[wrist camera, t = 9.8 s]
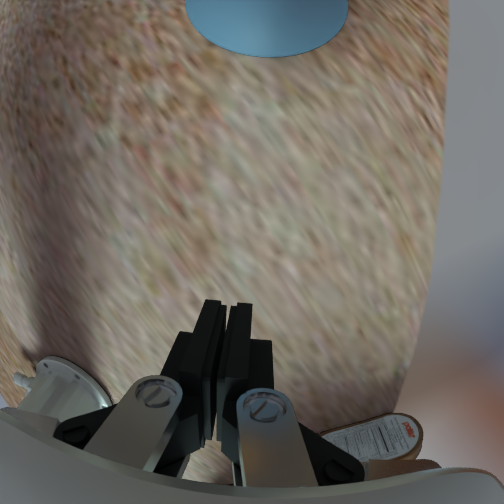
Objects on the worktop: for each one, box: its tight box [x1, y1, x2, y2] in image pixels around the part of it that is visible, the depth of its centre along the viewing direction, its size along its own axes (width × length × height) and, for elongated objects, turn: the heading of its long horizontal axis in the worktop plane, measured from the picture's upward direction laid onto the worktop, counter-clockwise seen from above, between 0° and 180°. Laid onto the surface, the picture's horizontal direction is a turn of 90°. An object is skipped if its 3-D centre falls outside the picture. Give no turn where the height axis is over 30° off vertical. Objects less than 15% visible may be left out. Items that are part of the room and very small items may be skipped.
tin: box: [319, 413, 423, 462], centre depth 26 cm, size 15×3×8 cm, turn 105°
